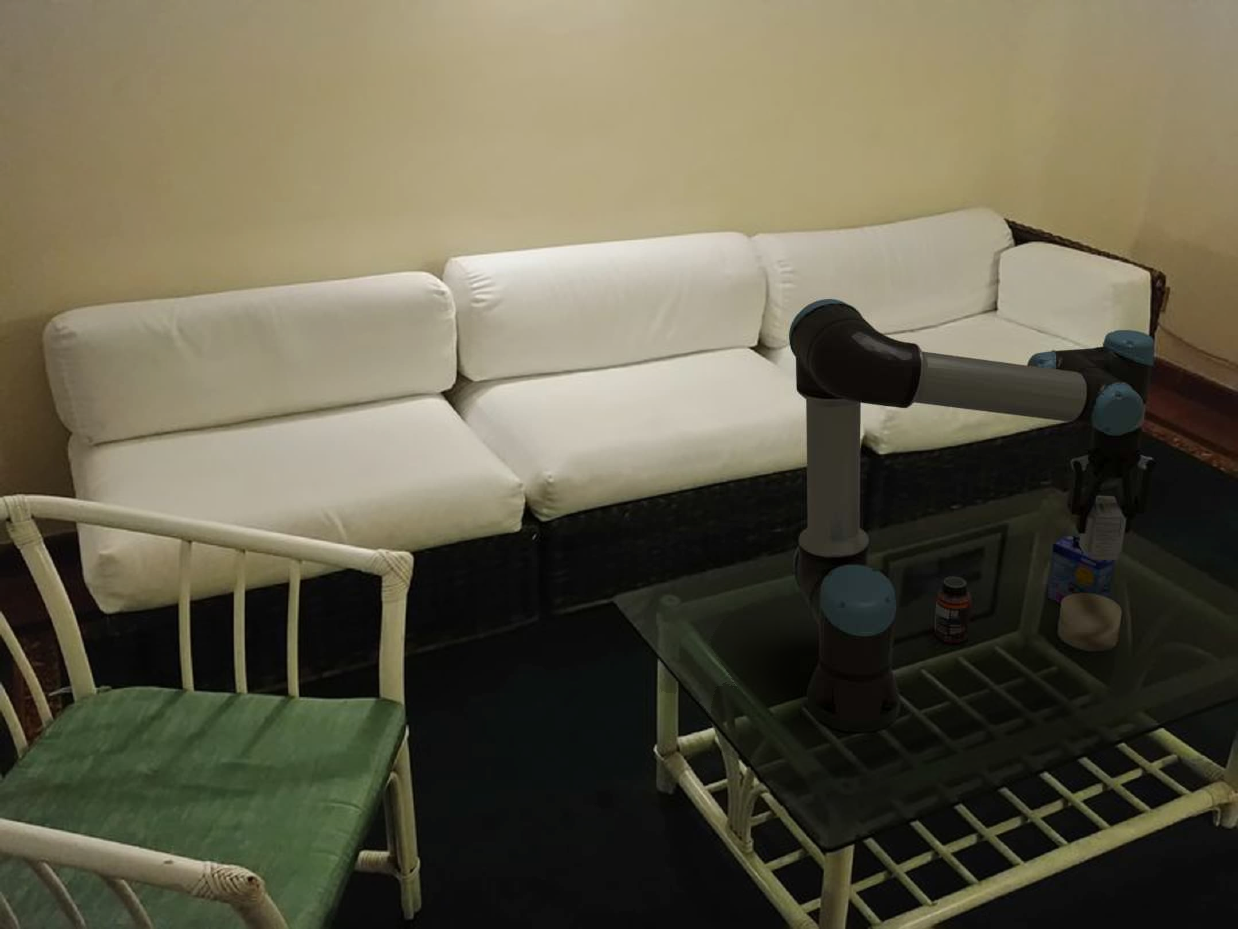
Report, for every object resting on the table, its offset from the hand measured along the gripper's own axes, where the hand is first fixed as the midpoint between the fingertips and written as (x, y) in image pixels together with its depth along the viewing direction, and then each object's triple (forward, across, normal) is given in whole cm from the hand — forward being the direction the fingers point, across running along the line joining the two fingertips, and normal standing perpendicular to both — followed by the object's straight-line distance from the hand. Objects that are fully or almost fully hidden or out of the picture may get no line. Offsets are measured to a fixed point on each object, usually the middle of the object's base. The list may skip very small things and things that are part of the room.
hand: (1099, 548), depth 196 cm
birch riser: (+18, 0, 0) cm, 18 cm away
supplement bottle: (+18, -24, 0) cm, 30 cm away
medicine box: (+1, 0, 0) cm, 1 cm away
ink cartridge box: (+18, +1, +11) cm, 21 cm away
